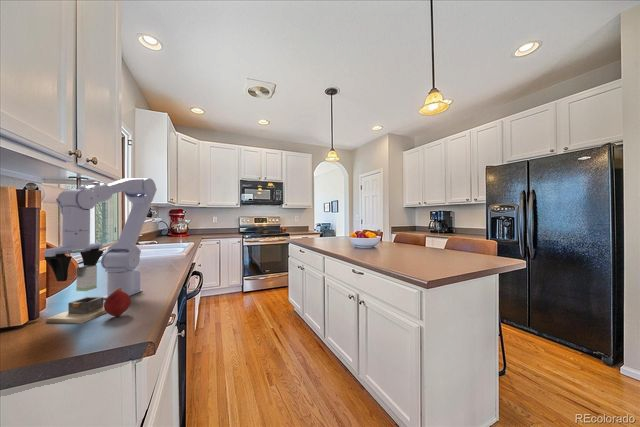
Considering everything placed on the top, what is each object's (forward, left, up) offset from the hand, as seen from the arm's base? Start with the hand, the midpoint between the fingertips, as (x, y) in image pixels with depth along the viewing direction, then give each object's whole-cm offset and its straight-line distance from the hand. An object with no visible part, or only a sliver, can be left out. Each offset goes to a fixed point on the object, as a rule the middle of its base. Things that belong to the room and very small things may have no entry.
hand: (76, 277), depth 72 cm
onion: (+1, +14, -11) cm, 18 cm away
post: (0, +3, -3) cm, 5 cm away
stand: (0, +3, -10) cm, 11 cm away
